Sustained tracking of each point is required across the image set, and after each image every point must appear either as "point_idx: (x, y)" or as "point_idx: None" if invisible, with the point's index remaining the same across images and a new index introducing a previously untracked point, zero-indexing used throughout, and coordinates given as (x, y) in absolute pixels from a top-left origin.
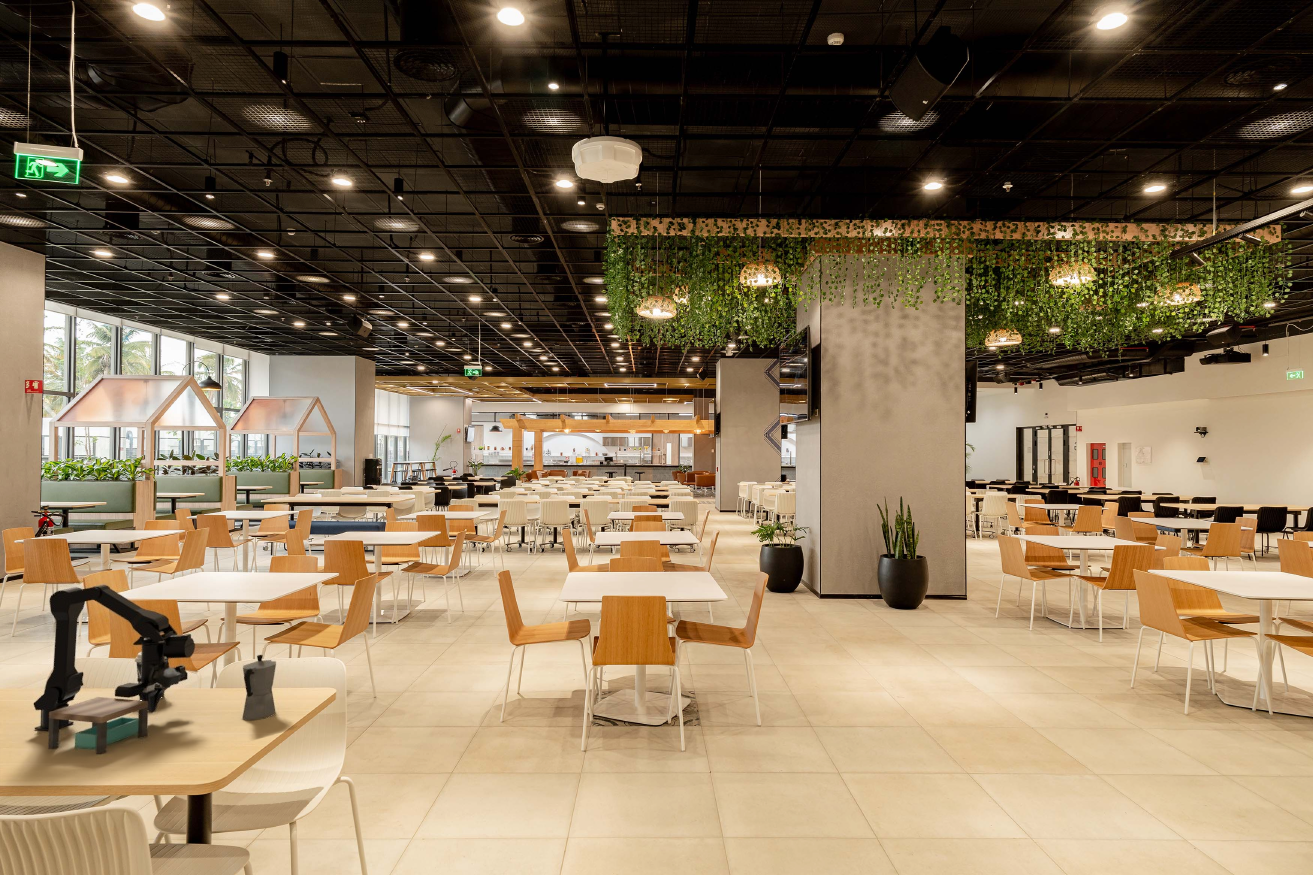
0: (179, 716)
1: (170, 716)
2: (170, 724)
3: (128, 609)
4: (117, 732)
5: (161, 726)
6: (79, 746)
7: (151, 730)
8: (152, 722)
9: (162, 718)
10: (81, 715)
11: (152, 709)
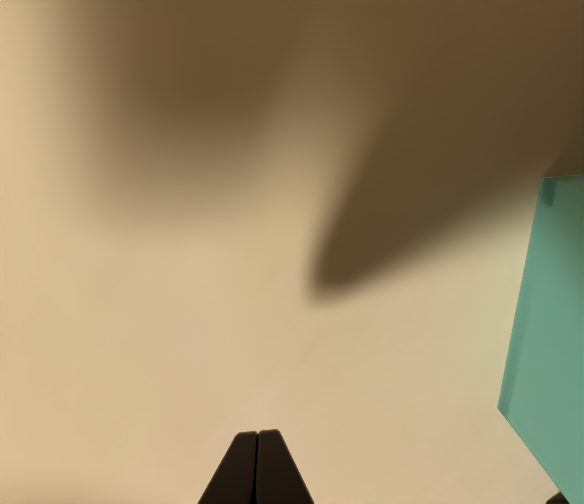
0: (4, 235)
1: (64, 334)
2: (256, 44)
3: None
4: None
5: (351, 98)
6: None
7: (499, 83)
8: (273, 336)
9: (146, 353)
10: None
11: (286, 460)
